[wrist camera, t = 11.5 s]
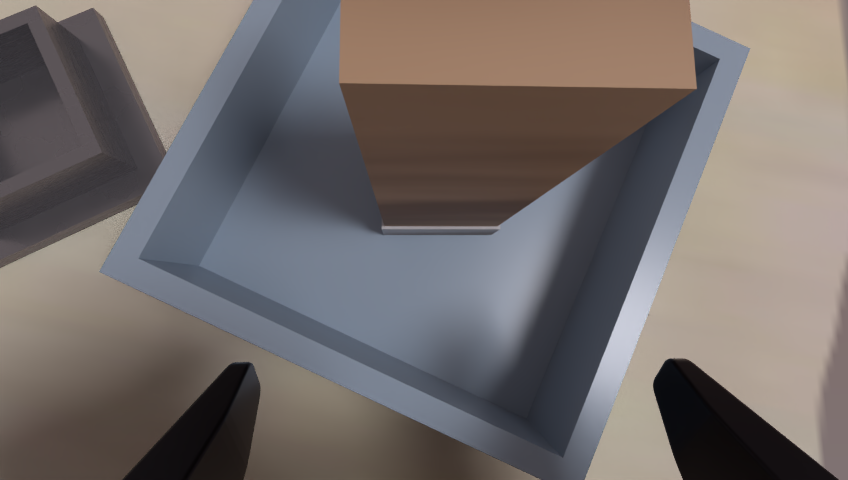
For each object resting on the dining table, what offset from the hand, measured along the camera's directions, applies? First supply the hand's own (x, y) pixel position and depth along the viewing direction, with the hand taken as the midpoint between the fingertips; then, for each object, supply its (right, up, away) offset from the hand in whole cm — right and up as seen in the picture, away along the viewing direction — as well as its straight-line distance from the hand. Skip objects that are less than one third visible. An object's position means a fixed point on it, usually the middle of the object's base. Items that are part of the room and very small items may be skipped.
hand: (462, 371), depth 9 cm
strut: (0, +5, +8) cm, 9 cm away
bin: (0, +5, +8) cm, 10 cm away
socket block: (-16, +7, +8) cm, 19 cm away
